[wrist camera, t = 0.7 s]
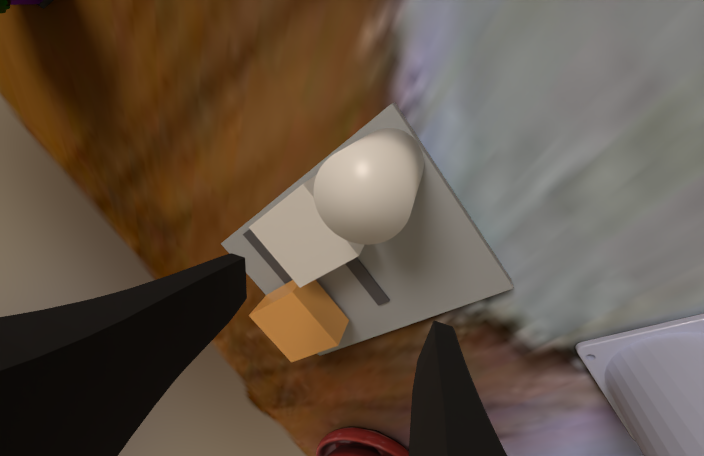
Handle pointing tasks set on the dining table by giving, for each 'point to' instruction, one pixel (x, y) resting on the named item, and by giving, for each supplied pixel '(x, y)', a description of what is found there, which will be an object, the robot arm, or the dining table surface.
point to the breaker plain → (303, 237)
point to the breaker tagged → (300, 319)
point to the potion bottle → (3, 0)
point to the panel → (395, 257)
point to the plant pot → (359, 444)
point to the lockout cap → (370, 186)
